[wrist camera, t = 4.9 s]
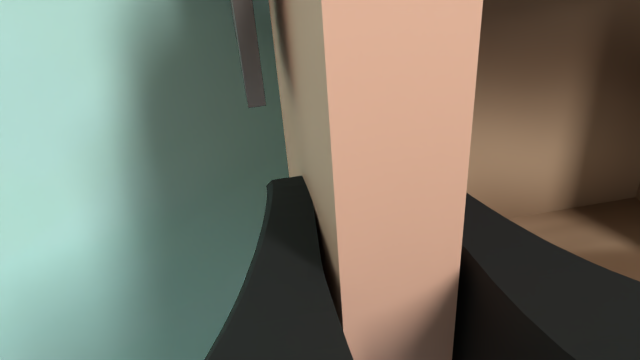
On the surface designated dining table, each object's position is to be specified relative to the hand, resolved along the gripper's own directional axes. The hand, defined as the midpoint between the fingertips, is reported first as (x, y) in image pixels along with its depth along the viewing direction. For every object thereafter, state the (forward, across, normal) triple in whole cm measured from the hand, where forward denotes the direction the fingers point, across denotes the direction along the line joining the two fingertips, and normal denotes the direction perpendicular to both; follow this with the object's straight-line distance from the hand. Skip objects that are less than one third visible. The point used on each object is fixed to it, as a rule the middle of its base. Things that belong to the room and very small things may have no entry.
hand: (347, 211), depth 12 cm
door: (+3, 0, 0) cm, 3 cm away
